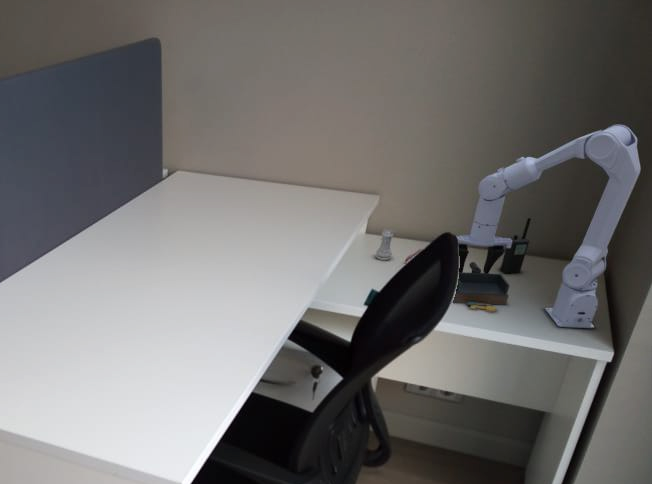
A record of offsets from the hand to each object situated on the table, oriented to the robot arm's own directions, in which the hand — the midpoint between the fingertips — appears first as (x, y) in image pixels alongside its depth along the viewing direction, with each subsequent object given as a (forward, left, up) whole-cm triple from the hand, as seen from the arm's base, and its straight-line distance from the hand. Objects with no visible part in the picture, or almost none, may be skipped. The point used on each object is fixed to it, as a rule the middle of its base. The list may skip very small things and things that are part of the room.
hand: (472, 272), depth 189 cm
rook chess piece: (+18, +19, -4) cm, 27 cm away
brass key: (-13, 0, -4) cm, 13 cm away
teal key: (-11, +1, -4) cm, 12 cm away
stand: (-6, 0, -4) cm, 7 cm away
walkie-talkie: (+12, -14, -4) cm, 19 cm away
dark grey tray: (-4, 0, -2) cm, 5 cm away
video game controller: (+10, +11, -4) cm, 16 cm away
